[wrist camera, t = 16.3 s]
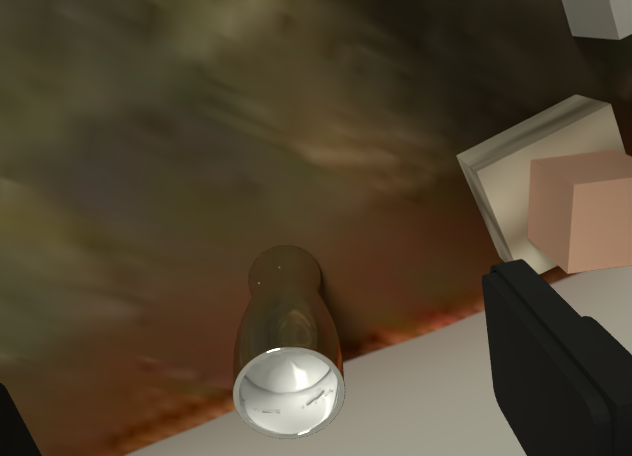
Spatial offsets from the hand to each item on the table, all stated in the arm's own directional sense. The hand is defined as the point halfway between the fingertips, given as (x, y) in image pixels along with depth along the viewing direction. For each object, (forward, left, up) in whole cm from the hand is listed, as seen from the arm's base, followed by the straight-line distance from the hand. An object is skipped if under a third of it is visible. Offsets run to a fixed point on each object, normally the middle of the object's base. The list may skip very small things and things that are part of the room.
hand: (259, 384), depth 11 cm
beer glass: (+14, -2, -32) cm, 35 cm away
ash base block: (+10, +19, -33) cm, 39 cm away
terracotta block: (+10, +20, -28) cm, 35 cm away
